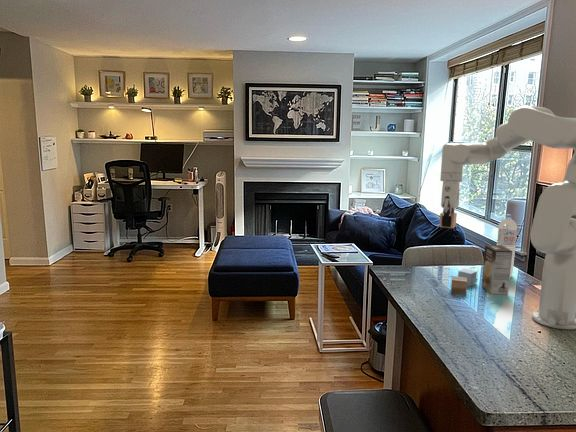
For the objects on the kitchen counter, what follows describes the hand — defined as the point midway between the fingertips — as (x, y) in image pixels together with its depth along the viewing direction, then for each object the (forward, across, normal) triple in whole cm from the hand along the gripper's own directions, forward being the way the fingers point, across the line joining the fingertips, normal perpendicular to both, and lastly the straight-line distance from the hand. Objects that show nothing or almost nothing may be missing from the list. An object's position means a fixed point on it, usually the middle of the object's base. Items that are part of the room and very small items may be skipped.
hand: (447, 225), depth 168 cm
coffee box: (+23, 0, -18) cm, 29 cm away
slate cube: (+23, +3, -8) cm, 24 cm away
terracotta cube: (+1, 0, 0) cm, 1 cm away
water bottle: (+23, +23, -19) cm, 37 cm away
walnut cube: (+23, -9, -7) cm, 25 cm away
